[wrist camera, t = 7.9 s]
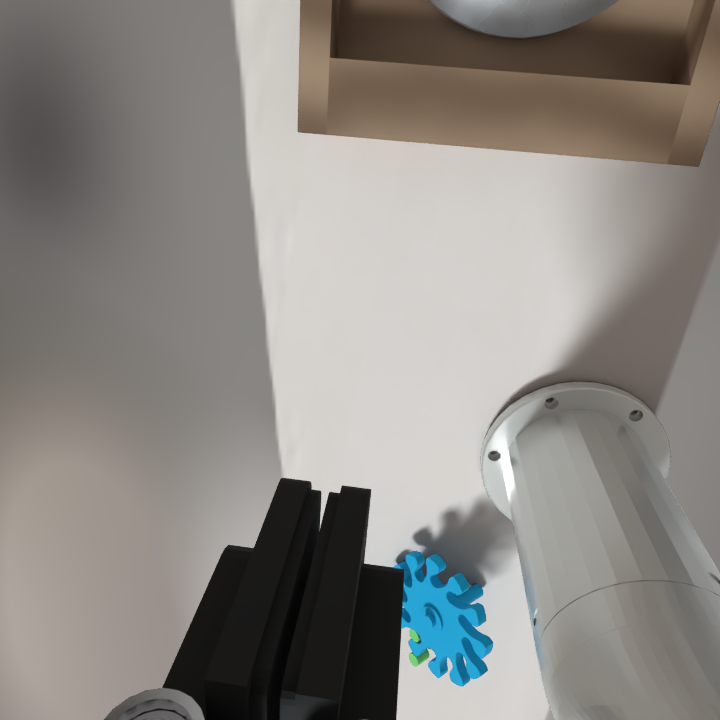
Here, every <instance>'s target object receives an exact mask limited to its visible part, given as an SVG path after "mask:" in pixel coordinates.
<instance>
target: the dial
mask: <svg viewBox="0 0 720 720" xmlns="http://www.w3.org/2000/svg"><path fill="white" fill-rule="evenodd" d="M427 1H428V2H429V3H430V4H431V5H432V6H433V7H434V8H435V9H436V10H437V11H439V12H440V13H441V14H443V15H444V16H446V17H447V18H448V19H450V20H451V21H453V22H455V23H457V24H459V25H461V26H463V27H465V28H467V29H469V30H472V31H475V32H478V33H481V34H484V35H488V36H494V37H499V38H516V39H523V38H531V37H539V36H544V35H548V34H552V33H555V32H559V31H562V30H565V29H567V28H570V27H572V26H574V25H577V24H579V23H582V22H584V21H586V20H588V19H590V18H592V17H594V16H595V15H597V14H599V13H601V12H602V11H604V10H606V9H607V8H609V7H610V6H612V5H613V4H614V3H616V2H617V1H618V0H427Z"/></svg>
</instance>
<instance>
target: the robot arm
mask: <svg viewBox="0 0 720 720" xmlns="http://www.w3.org/2000/svg"><path fill="white" fill-rule="evenodd" d="M548 398H551V399H548ZM670 460H671V452H670V445H669V440H668V438H667V435H666V433H665V431H664V428H663V426H662V425H661V423H660V422H659V420H658V419H657V417H656V416H655V414H654V413H653V412H652V411H651V410H650V409H649V408H648V407H647V406H646V405H645V404H644V403H643V402H642V401H640V400H639V399H637V398H636V397H634V396H633V395H632V394H630V393H627V392H625V391H623V390H621V389H618V388H616V387H613V386H609V385H604V384H600V383H593V382H569V383H559V384H555V385H552V386H548V387H544V388H541V389H538V390H536V391H534V392H532V393H529V394H527V395H525V396H523V397H522V398H520V399H519V400H517V401H516V402H514V403H513V404H511V405H510V406H509V407H508V408H507V409H506V410H504V411H503V412H502V413H501V414H500V415H499V416H498V417H497V419H496V420H495V422H494V423H493V424H492V426H491V427H490V429H489V430H488V433H487V435H486V437H485V440H484V442H483V445H482V451H481V456H480V461H481V474H482V479H483V485H484V487H485V489H486V492H487V494H488V496H489V498H490V499H491V501H492V502H493V503H494V505H495V506H496V508H497V509H498V510H499V511H500V512H502V513H503V514H504V515H505V516H506V517H507V518H508V519H510V520H512V521H513V527H514V532H515V538H516V543H517V549H518V554H519V559H520V565H521V570H522V576H523V581H524V587H525V592H526V598H527V603H528V608H529V614H530V619H531V625H532V630H533V636H534V641H535V646H536V652H537V657H538V662H539V667H540V672H541V678H542V683H543V687H544V691H545V694H546V698H547V701H548V704H549V706H550V709H551V711H552V713H553V716H554V718H555V720H720V573H719V571H718V569H717V568H716V566H715V564H714V563H713V561H712V559H711V558H710V556H709V554H708V552H707V551H706V549H705V547H704V545H703V544H702V542H701V540H700V539H699V537H698V535H697V534H696V532H695V530H694V528H693V527H692V525H691V523H690V522H689V520H688V518H687V517H686V515H685V513H684V512H683V510H682V508H681V506H680V505H679V503H678V501H677V499H676V498H675V496H674V495H673V493H672V491H671V489H670V488H669V486H668V484H667V483H666V478H667V475H668V473H669V468H670ZM370 497H371V489H364V488H357V487H349V486H342V488H341V491H340V493H333V492H330V493H329V496H328V500H327V504H326V508H325V512H324V516H323V520H322V524H321V528H320V511H321V491H318V490H311V482H310V481H303V480H295V479H287V478H281V479H280V482H279V484H278V486H277V489H276V492H275V494H274V497H273V500H272V502H271V505H270V508H269V510H268V513H267V515H266V518H265V520H264V523H263V526H262V528H261V531H260V533H259V536H258V539H257V541H256V544H255V547H254V548H248V547H240V546H233V545H228V546H227V547H226V548H225V550H224V551H223V553H222V555H221V557H220V559H219V562H218V564H217V566H216V568H215V571H214V573H213V575H212V577H211V580H210V582H209V584H208V587H207V589H206V591H205V593H204V595H203V598H202V600H201V602H200V604H199V606H198V609H197V611H196V613H195V615H194V618H193V620H192V622H191V624H190V627H189V629H188V631H187V633H186V636H185V638H184V640H183V643H182V645H181V647H180V649H179V652H178V654H177V656H176V658H175V661H174V663H173V665H172V667H171V669H170V672H169V674H168V676H167V678H166V681H165V683H164V685H163V687H162V688H158V689H151V690H145V691H143V692H141V693H138V694H136V695H134V696H131V697H129V698H128V699H126V700H125V701H123V702H122V703H121V704H119V705H118V706H116V707H115V708H114V709H113V710H112V711H111V712H110V713H109V714H108V715H107V717H106V718H105V719H104V720H396V712H397V695H398V677H399V659H400V641H401V623H402V605H403V588H404V569H399V568H392V567H385V566H377V565H370V564H364V557H365V547H366V537H367V527H368V517H369V507H370ZM319 530H320V532H319Z"/></svg>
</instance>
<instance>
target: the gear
mask: <svg viewBox="0 0 720 720" xmlns="http://www.w3.org/2000/svg"><path fill="white" fill-rule="evenodd" d="M405 558H406V561H403V562H401V563H399V564H398V565H396V566H394V567H393V568H399V569H404V588H403V606H404V608H402V623H401V628H404V627H409V628H411V630H410V637H411V638H412V639H410V640H409V641H408V643H409V646H410V648H411V650H412V653H410V654H409V659H410V662H411V663H412V664H413V665H414V666H418V665H419V664H421V663H422V662H424V661H425V660H426V659H428V658H429V652H428V650H427V648H428V649H432V650H433V651H434V652H435V654H436V657H435V658H434V659H432V660H431V661H430V662H429V663H428V667H429V669H430V670H431V671H432V673H433V674H434V675H435V676H436V677H437V678H440V677H441V676H442V675H444V674H445V673H446V672H447V670H448V667H447V657H448V658H449V659H450V660H451V662H452V664H453V668H452V670H451V671H450V679H451V681H452V682H453V683H455V684H457V685H459V686H462V687H463V686H464V685H465V684H466V683H468V682H469V681H470V677H471V679H477V678H479V677H480V676H481V675H483V674H484V673H485V672H486V671H488V669H487V666H486V664H485V663H484V662H483V660H482V659H481V658H484V657H485V656H486V655H488V654H489V653H490V652H491V650H492V647H493V642H492V640H491V639H490V638H489V637H488V636H486V635H484V634H482V633H480V632H479V631H477V630H476V629H475V628H474V627H473V626H476V627H478V626H480V625H481V624H482V623H484V622H485V621H486V614H485V610H484V607H483V605H481V604H479V603H476V604H472V605H470V603H472V602H473V601H475V600H476V599H478V598H479V597H481V596H482V595H483V589H482V588H481V586H480V585H478V584H474V585H473V586H471V587H469V585H468V582H467V581H466V579H465V577H464V576H463V574H462V573H457V574H456V575H454V576H452V577H451V578H449V581H448V583H447V584H443V583H442V582H440V580H439V578H438V573H439V572H441V571H443V570H445V568H446V562H445V561H444V560H443V559H442V558H441V557H440V556H439V555H437V554H436V553H435V554H434V555H432V556H430V557H428V558H427V559H426V566H427V574H426V577H425V576H424V574H423V572H422V566H423V564H424V562H425V559H424V555H423V554H422V553H421V552H417V551H413V552H411V553H409V554H407V555H406V556H405ZM410 571H411V572H410ZM411 575H412V578H411ZM455 594H456V595H457V596H455ZM472 625H473V626H472ZM463 656H464V657H465V659H466V666H465V663H464V660H463Z"/></svg>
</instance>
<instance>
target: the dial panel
mask: <svg viewBox="0 0 720 720" xmlns="http://www.w3.org/2000/svg"><path fill="white" fill-rule="evenodd" d="M719 101H720V0H618V1H617V2H616V3H614V4H613V5H612V6H610V7H609V8H607V9H606V10H604V11H602V12H601V13H599V14H597V15H595V16H594V17H592V18H590V19H588V20H586V21H584V22H582V23H579V24H577V25H574V26H572V27H570V28H567V29H565V30H562V31H559V32H555V33H552V34H548V35H544V36H539V37H531V38H523V39H516V38H499V37H494V36H488V35H484V34H481V33H478V32H475V31H472V30H469V29H467V28H465V27H463V26H461V25H459V24H457V23H455V22H453V21H451V20H450V19H448V18H447V17H446V16H444V15H443V14H441V13H440V12H439V11H437V10H436V9H435V8H434V7H433V6H432V5H431V4H430V3H429V2H428V1H427V0H300V46H299V94H298V132H301V133H312V134H324V135H336V136H347V137H359V138H371V139H382V140H394V141H405V142H417V143H429V144H440V145H452V146H464V147H475V148H487V149H498V150H510V151H522V152H533V153H545V154H556V155H568V156H580V157H591V158H603V159H615V160H626V161H638V162H649V163H661V164H673V165H684V166H696V167H699V164H700V161H701V158H702V155H703V151H704V148H705V145H706V142H707V139H708V136H709V133H710V129H711V126H712V123H713V120H714V117H715V114H716V111H717V107H718V104H719Z"/></svg>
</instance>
